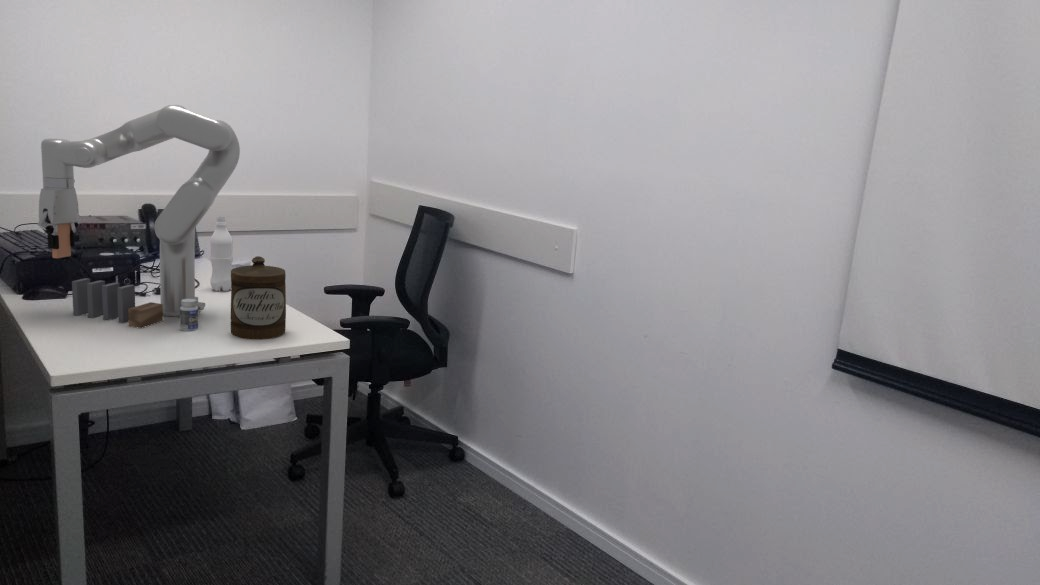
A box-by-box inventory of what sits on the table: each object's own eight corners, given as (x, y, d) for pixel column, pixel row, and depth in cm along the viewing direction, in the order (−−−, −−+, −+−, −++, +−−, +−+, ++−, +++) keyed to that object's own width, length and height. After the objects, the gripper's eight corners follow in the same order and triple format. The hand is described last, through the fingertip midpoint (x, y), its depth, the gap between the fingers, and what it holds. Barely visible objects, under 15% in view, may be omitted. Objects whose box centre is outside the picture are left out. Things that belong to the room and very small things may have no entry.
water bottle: (224, 286, 270) (224, 215, 265) (237, 290, 266) (237, 218, 261) (206, 289, 265) (205, 216, 259) (218, 293, 261) (218, 219, 255)
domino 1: (71, 255, 225) (69, 221, 222) (57, 258, 220) (55, 223, 218) (66, 255, 225) (64, 221, 223) (52, 257, 220) (50, 222, 218)
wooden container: (232, 341, 211) (232, 261, 206) (229, 326, 224) (229, 251, 219) (288, 339, 217) (289, 261, 212) (282, 324, 230) (283, 252, 225)
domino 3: (106, 314, 226) (104, 281, 224) (93, 318, 221) (91, 284, 219) (101, 313, 226) (100, 280, 224) (88, 317, 221) (86, 283, 219)
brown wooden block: (162, 320, 224) (162, 304, 223) (141, 328, 215) (140, 310, 214) (150, 318, 225) (150, 302, 224) (128, 326, 216) (128, 308, 215)
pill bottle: (191, 332, 216) (191, 302, 214) (176, 329, 217) (176, 300, 215) (201, 328, 220) (201, 299, 218) (186, 325, 221) (186, 297, 219)
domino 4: (120, 316, 225) (119, 283, 223) (108, 320, 220) (106, 286, 218) (116, 315, 225) (114, 282, 223) (103, 319, 220) (101, 285, 218)
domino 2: (91, 312, 227) (89, 278, 225) (78, 315, 222) (76, 281, 220) (86, 311, 227) (85, 278, 225) (73, 315, 222) (71, 281, 220)
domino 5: (135, 318, 224) (134, 285, 222) (123, 322, 219) (122, 288, 217) (130, 318, 224) (129, 284, 222) (118, 322, 219) (117, 287, 217)
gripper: (71, 180, 227) (73, 242, 231) (22, 184, 211) (25, 249, 214) (92, 183, 225) (95, 244, 229) (45, 186, 209) (48, 253, 213)
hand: (61, 246), depth 222 cm, fingers closed on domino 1, 4 cm apart
